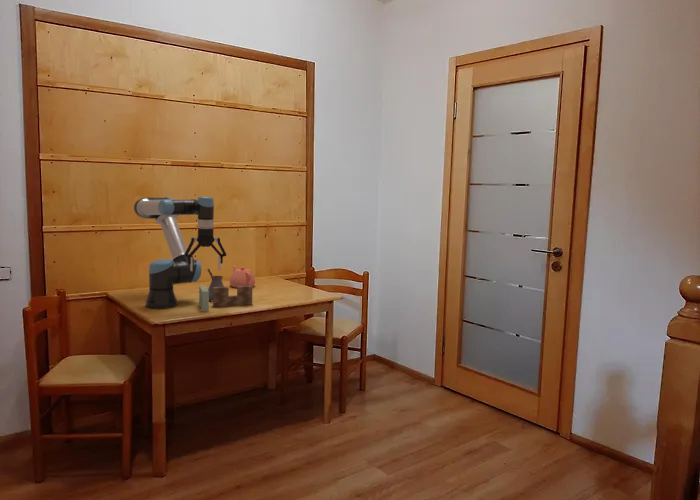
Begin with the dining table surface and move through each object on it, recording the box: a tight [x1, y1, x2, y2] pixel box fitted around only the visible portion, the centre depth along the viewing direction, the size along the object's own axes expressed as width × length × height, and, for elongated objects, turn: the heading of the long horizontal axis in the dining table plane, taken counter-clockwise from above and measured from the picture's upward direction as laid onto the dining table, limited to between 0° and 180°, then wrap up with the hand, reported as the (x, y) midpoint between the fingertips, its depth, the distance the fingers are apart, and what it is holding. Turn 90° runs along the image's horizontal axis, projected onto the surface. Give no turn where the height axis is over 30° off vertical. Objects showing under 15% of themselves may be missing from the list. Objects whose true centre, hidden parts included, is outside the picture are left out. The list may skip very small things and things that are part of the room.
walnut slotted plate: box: [212, 286, 253, 308], centre depth 278 cm, size 20×3×10 cm, turn 112°
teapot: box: [229, 264, 256, 289], centre depth 328 cm, size 22×16×12 cm
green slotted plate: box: [198, 285, 210, 312], centre depth 270 cm, size 3×14×10 cm, turn 22°
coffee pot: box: [206, 268, 225, 302], centre depth 293 cm, size 21×12×15 cm, turn 33°
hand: (205, 270), depth 264 cm, fingers open, 13 cm apart
